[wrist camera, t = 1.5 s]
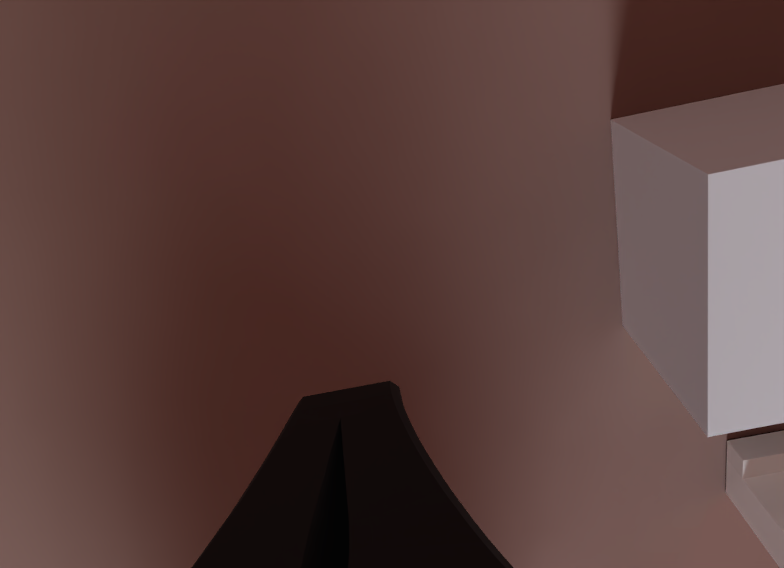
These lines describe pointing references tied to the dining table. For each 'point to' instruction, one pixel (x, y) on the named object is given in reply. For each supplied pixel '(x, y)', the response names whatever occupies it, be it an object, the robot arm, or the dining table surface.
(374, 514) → the robot arm
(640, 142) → the pale grey notched block
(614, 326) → the dining table surface
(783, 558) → the wall shelf
